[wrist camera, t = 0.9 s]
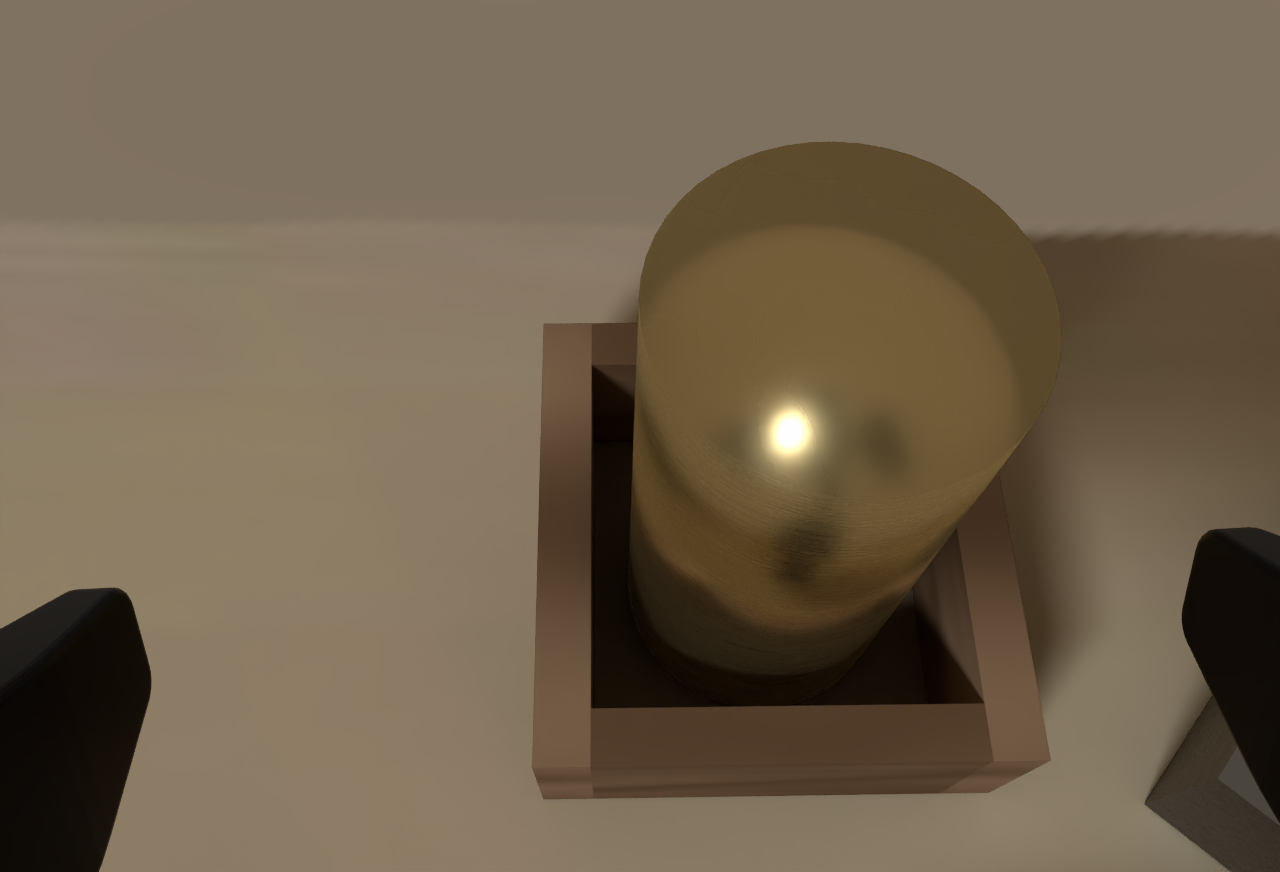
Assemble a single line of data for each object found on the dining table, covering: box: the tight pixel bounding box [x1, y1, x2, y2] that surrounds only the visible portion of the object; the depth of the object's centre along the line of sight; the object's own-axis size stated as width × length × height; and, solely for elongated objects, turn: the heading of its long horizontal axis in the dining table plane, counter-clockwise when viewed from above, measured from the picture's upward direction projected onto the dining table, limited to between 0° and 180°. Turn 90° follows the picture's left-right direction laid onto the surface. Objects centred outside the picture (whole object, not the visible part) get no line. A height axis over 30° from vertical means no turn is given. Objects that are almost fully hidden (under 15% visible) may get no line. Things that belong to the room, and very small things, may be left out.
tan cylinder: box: [628, 142, 1062, 707], centre depth 19 cm, size 6×6×11 cm
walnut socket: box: [532, 323, 1051, 799], centre depth 23 cm, size 9×9×4 cm
